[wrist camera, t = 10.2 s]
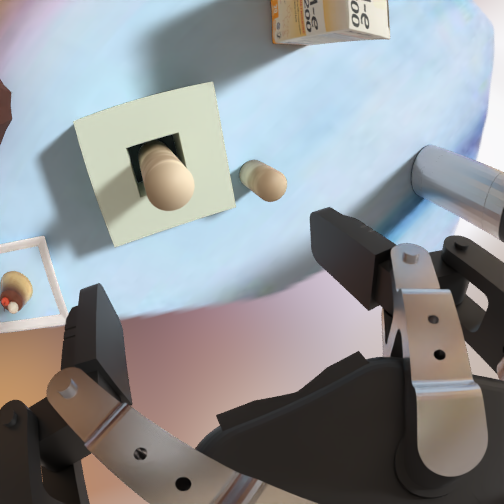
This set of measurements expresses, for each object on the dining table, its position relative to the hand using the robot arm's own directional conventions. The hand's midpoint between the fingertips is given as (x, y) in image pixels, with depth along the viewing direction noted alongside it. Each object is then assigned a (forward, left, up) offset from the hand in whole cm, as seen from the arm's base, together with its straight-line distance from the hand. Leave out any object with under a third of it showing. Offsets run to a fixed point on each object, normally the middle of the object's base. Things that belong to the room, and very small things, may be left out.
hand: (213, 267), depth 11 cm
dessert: (+21, +9, -23) cm, 32 cm away
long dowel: (0, 0, -22) cm, 22 cm away
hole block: (0, 0, -22) cm, 22 cm away
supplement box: (-17, -13, -23) cm, 31 cm away
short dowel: (-10, +5, -22) cm, 25 cm away
